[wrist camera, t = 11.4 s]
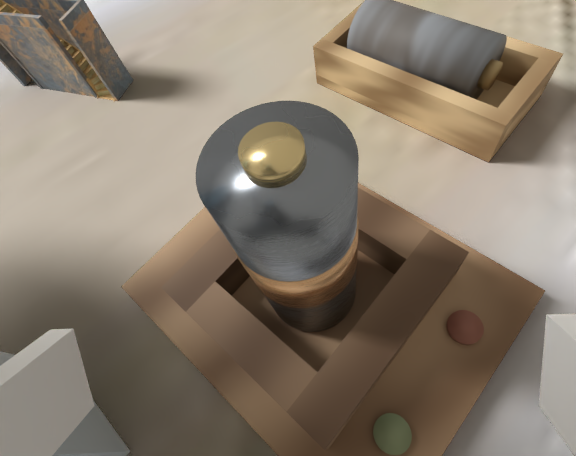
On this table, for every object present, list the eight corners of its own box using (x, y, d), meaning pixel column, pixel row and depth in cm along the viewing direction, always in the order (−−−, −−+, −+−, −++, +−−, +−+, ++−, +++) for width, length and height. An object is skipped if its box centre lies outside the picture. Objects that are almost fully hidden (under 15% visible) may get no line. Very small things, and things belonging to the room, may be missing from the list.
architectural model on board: (23, 92, 36) (-77, -13, 28) (43, 71, 37) (-47, -36, 29) (117, 108, 33) (36, -6, 24) (135, 84, 34) (64, -32, 26)
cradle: (129, 292, 23) (95, 270, 20) (281, 146, 27) (271, 109, 24) (374, 554, 15) (379, 581, 12) (537, 297, 19) (570, 270, 16)
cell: (251, 295, 20) (151, 165, 10) (306, 233, 22) (265, 63, 12) (318, 352, 19) (277, 262, 8) (374, 281, 20) (397, 127, 10)
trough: (317, 82, 30) (310, 19, 25) (370, 33, 32) (372, -34, 27) (488, 162, 24) (519, 97, 19) (541, 95, 26) (580, 22, 21)
